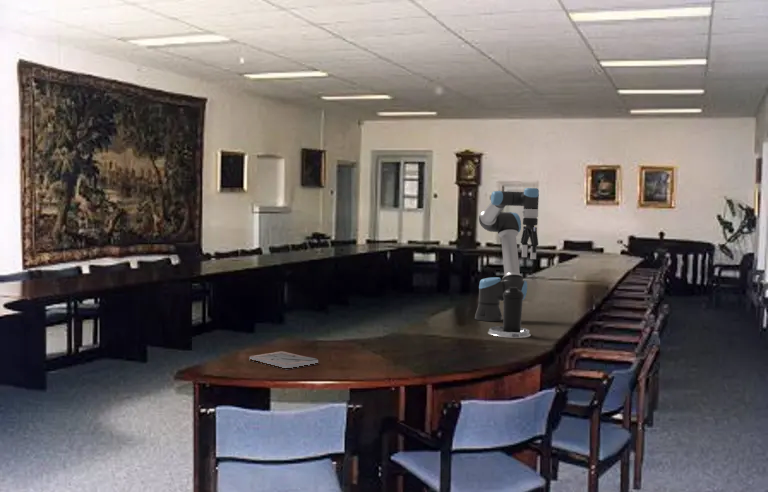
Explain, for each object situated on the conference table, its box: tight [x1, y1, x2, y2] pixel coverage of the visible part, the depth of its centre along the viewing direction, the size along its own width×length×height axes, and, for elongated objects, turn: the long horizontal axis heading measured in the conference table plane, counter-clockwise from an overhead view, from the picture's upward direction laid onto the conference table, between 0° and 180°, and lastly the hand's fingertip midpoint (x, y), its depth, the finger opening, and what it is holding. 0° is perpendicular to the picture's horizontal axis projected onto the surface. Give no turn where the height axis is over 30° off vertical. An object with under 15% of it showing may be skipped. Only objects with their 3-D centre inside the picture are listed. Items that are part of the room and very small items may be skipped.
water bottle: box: [502, 287, 524, 332], centre depth 393 cm, size 10×10×23 cm
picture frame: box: [249, 350, 319, 369], centre depth 309 cm, size 16×2×22 cm
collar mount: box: [487, 325, 531, 339], centre depth 393 cm, size 21×21×2 cm
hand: (528, 258), depth 414 cm, fingers open, 13 cm apart
